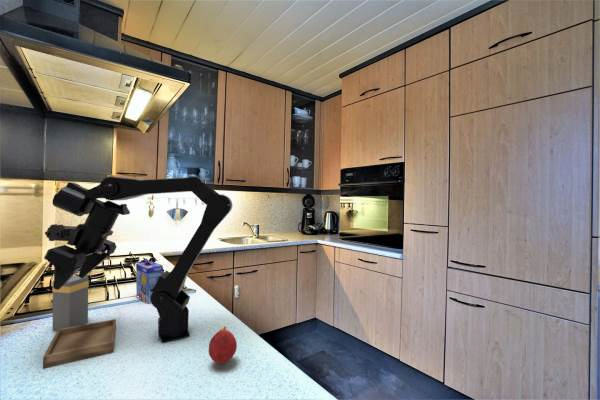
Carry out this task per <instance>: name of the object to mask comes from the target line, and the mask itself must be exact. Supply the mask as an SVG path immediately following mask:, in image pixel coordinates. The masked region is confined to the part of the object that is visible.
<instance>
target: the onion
mask: <svg viewBox="0 0 600 400" xmlns="http://www.w3.org/2000/svg"><path fill="white" fill-rule="evenodd" d="M226 328H227V326H226V325H222V326H220V329H219V331H218V332H216V333H215V334H214V335H213V336H212V337H211V339H210V341H209V344H208V355H209V357H210V358H211V360H212V361H213V362H214V363H215V364H219V365H221V366H223V365H225V364H226V363H228V362H229V361H231V360H232V358H233V357H234V356H235V354H236V352H237V347H238V344H237V343H238V342H237V339H236V337H235V335H234V334H233V333H232V332H231V331H229V330H228V329H226Z"/></svg>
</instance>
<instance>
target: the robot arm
mask: <svg viewBox="0 0 600 400" xmlns="http://www.w3.org/2000/svg"><path fill="white" fill-rule="evenodd" d="M186 192H187V193H188V192H189V193H190V192H191V193H192V194H194V195H195V196H196V198H198V199H199V200H200V201H201V202H202V203H204V205H206V206H205V209H204V211H203V214H202V218H201V222H200V224H199V225H198V227H197V228H196V231H195V233H194V234H192V235H193V236H192V237H191V239H190V241H189V242H188V244H187V245H186V247H185V248H184V250H183V252H182V254H181V255H180V257H179V258H178V260H177V261H176V262H175V264H174V267H173V268H172V269H171V271H169V270H165V271H163V274H162V275H161V276H159V278H158V280H157V283H156V285H155V287H154V288H152V289H151V290H150V292H153V293H152V294H151V297H150V300H151V303H150V304H151V305H152V307H153V308H155V309H156V311H157V314H158V316H159V317H158V318H157V334H158V338H159V339H160V341H161V343H166V342H171V341H176V340H179V339H184V338H188V337H190V335H191V333H190V330H189V317H190V316H189V315H190V314H189V311H190V310H189V308H188V306H187V305H188V304H189V303H190V299H191V296H190V295H189V294H188V293H187V292H186V291H184V290H183V289H184V286H185V283H186V280H187V276H188V274H189V272H190V271H191V269H192V267H193V266H194V264H195V262H196V260H197V259H198V257H199V255H200V254H201V252H202V251H203V249H204V248H205V245H206V244H207V243H208V241H209V239H210V237H211V236H212V234H213V232H214V231H215V229H216V228H217V227H218V226H219V225H220V224H221V223H222V222H223V221H224V219H225V218H226V217H227V216H228V215H229V214H230V212H231V211H232V209H233V202H232V199H231V198H230V197H229V196H227V195H225V194H219V192H217V191H216V190H215V189H213V188H212V187H211V186H210V185H208V184H207V183H206V182H205V181H204V180H203V179H202V178H201V177H198V176H196V175H191V176H188V177H187V176H185V177H172V178H171V177H170V178H153V179H152V178H151V179H137V178H128V177H120V176H118V177H117V176H107V177H104V178H103V179H102V180H101V182H100V184H98V185H96V186H94V187H92V188H89V189H88V188H86V187H83V186H81V185H80V184H79V183H76V182H74V181H73V182H70V181H68V182H67V184H66V185H65V186H64V187H62V188H60V189H59V191H58V192H56V193H55V194H54V196H53V198H52V203H51V204H52V205H53V207H56V208H57V209H60V210H62V211H65V212H68V213H70V214H73V215H75V216H77V217H82V216H84V215H87V217H86V218H85V221H84V223H79V224H78V225H77V226H73V225H64V224H50V225H49V227H47V230H46V231H45V232H44V235H45V237H46V238H47V239H48V241H49V242H55V241H58V242H60V241H61V242H67V243H66V244H67V245H66V244H63V245H59V246H55V247H52V248H49V249H47V251H46V252H45V255H44V257H43V259H44V260H46V261H47V262H48V263H50V264H52V266H53V267H54V277H53V281H54V286H53V285H52V287H53V288H54V289H57V290H59V289H60V288H61V287H62V286H63V285H64V284H65V283H66V282H67V281H68V280H69V279H70V278H71V277H72V276H75V275H76V274H77V273H78V276H79V277H80V278H84V277H85V276H87V275H88V274H89V273H91V272H92V271H93V270H95V268H96V267H98V266H99V265H100V264H102V263H103V262H104V261H105V260H107V259H108V258H109V257H110V256H111V255H112V254H114V253H115V251H116V249H117V245H116V242H114V241H112V240H109V239H108V237H110V236H112V235H113V234H114V230H112V229H113V228H114V225H115V224H116V221H117V220H118V218H119V215H121V216H126V215H130V214H131V212H130V209H129V208H128V205H127V203H121V204H118V203H116V202H114V201H127V200H130V199H136V198H139V197H143V196H146V195H155V194H157V195H159V194H170V193H171V194H173V193H186ZM101 199H105V200H106V201H102V200H101ZM71 246H73V247H71Z"/></svg>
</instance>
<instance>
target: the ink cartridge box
mask: <svg viewBox="0 0 600 400" xmlns="http://www.w3.org/2000/svg"><path fill="white" fill-rule="evenodd" d="M142 259H143V261H144V262H143V261H142V262H138V263H136V264H135V271H136V273H135V275H136V278H135V279H136V280H135V281H136V285H135V286H136V288H135V289H136V297H137V296H139V297H140V298H141V299H142V300H141V301H142V302H144V304H146V305H149V304H152V303H151V300H150V297H151V294H152V293H153V292H150V290H151V289H152V288H154V287H155V285H156V283H157V280H158V278H159V276H161V275H162V274H163V273H164V271H163V264H161V263H157V262H155V261H151V260H149V259H148V258H146V257H142Z"/></svg>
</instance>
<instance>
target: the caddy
mask: <svg viewBox="0 0 600 400" xmlns="http://www.w3.org/2000/svg"><path fill="white" fill-rule="evenodd" d="M89 282H90V280H89V276H87V275H86V276H85V277H84V278H80V277H79V275H73V276H72V277H71V278H70V279H69V280H68V281H67V282H66V283H65V284H64V285H63V286H62V287H61V288H60V289H59V290H57V289H54V288H53V286H54V280H53V281H52V291H51V292H52V329H51V330H52V331H53V332H57V330H58V329H63V328H68V327H74V326H80V325H85V324H89V284H90V283H89Z"/></svg>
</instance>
